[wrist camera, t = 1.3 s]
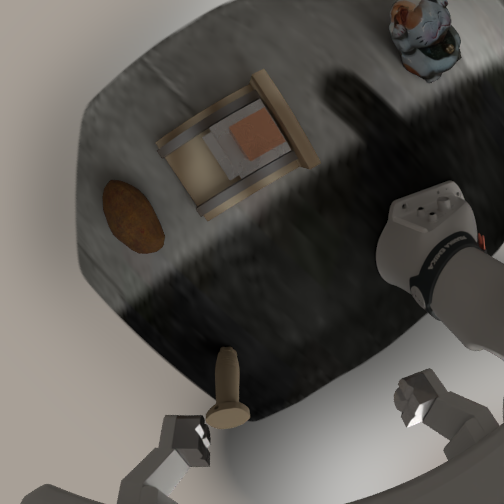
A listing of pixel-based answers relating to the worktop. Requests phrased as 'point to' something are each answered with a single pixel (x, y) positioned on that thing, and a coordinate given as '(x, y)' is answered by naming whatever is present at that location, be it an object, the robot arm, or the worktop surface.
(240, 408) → the handle
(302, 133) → the frame
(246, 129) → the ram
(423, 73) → the lucky cat figurine
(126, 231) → the potato
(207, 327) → the worktop surface
